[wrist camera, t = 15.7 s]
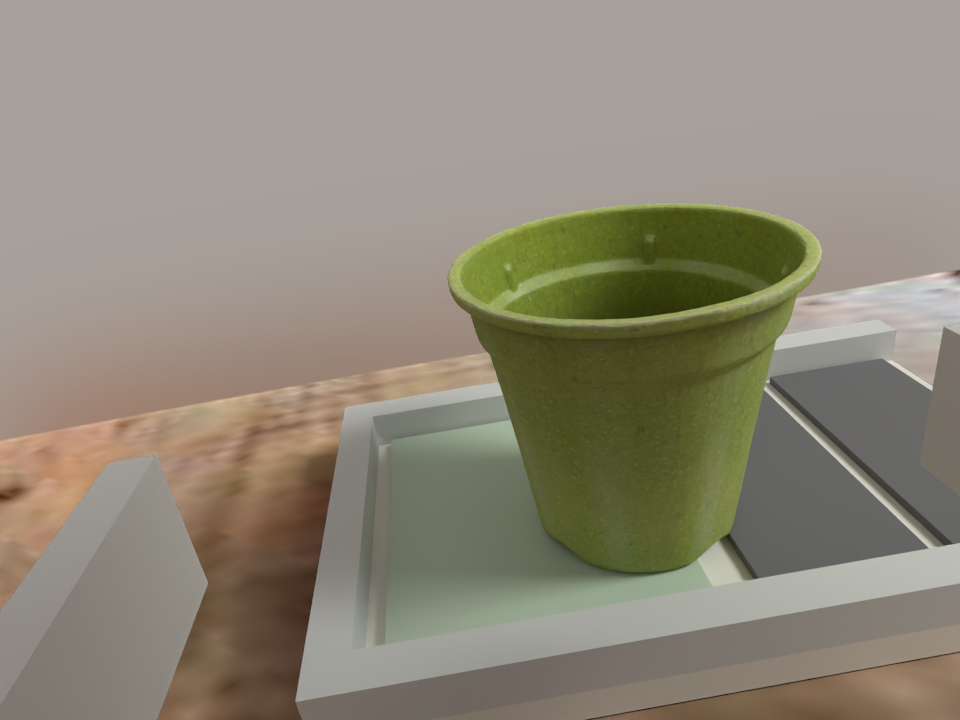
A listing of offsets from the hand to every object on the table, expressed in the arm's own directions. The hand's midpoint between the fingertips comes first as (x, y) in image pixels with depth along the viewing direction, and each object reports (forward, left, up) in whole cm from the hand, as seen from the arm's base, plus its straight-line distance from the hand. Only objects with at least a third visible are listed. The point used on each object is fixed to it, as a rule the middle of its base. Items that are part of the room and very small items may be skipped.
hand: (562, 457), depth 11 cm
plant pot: (+5, -6, -8) cm, 11 cm away
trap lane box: (+5, -9, -9) cm, 13 cm away
